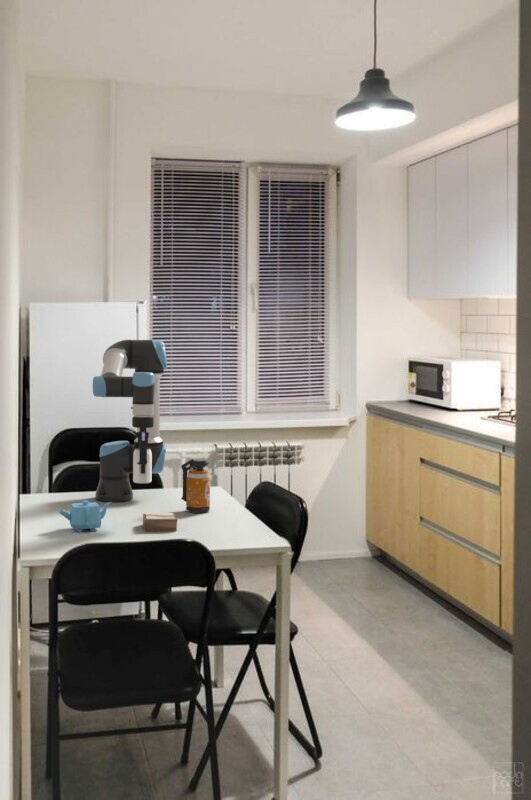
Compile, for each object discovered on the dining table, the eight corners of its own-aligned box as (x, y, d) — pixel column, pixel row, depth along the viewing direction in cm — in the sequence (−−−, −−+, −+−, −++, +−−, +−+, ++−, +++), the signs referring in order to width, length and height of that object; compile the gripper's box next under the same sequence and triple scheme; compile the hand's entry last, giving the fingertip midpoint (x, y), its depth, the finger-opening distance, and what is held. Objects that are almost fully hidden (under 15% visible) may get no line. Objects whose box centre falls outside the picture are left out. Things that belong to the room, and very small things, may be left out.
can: (146, 480, 324) (146, 447, 323) (154, 482, 318) (155, 449, 318) (129, 481, 320) (130, 448, 319) (138, 484, 315) (138, 450, 314)
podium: (142, 524, 321) (143, 512, 320) (173, 524, 323) (174, 512, 322) (144, 531, 310) (144, 519, 310) (176, 531, 312) (176, 518, 312)
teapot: (61, 535, 303) (61, 505, 302) (56, 526, 316) (56, 497, 315) (115, 532, 309) (115, 502, 308) (107, 523, 322) (107, 495, 322)
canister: (206, 514, 340) (206, 461, 339) (177, 512, 342) (178, 460, 341) (212, 509, 349) (212, 458, 347) (184, 508, 351) (185, 457, 350)
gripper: (131, 413, 327) (131, 477, 328) (132, 418, 307) (132, 485, 309) (152, 413, 328) (152, 476, 329) (154, 418, 309) (154, 485, 310)
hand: (142, 480), depth 319 cm, fingers closed on can, 6 cm apart
